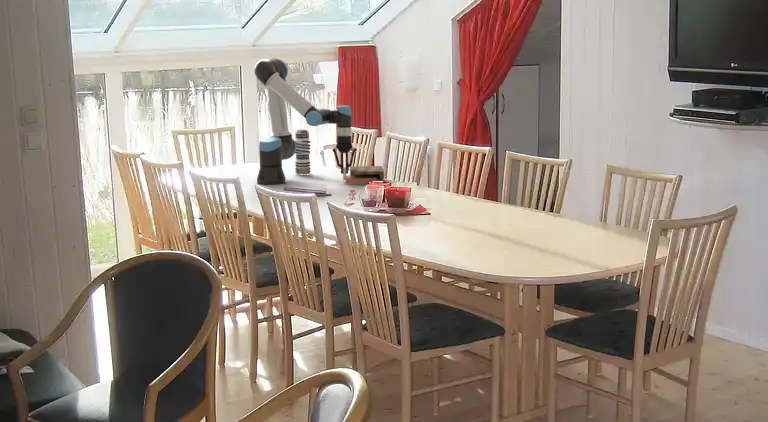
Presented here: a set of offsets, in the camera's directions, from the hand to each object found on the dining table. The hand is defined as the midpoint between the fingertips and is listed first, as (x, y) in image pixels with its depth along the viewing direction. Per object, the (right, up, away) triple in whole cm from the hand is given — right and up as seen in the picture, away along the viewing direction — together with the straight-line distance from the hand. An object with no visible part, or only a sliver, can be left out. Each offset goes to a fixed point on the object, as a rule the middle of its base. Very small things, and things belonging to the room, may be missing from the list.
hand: (344, 179), depth 505 cm
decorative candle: (-25, +4, +30) cm, 39 cm away
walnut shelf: (+12, -1, +1) cm, 12 cm away
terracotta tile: (+9, -1, 0) cm, 9 cm away
